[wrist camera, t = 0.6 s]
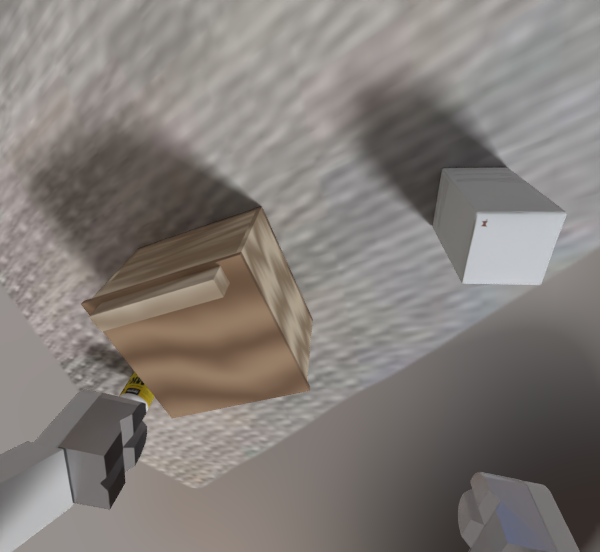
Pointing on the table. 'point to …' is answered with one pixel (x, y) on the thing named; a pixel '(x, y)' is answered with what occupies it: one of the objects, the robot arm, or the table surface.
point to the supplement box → (495, 226)
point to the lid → (201, 338)
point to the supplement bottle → (137, 391)
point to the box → (220, 243)
